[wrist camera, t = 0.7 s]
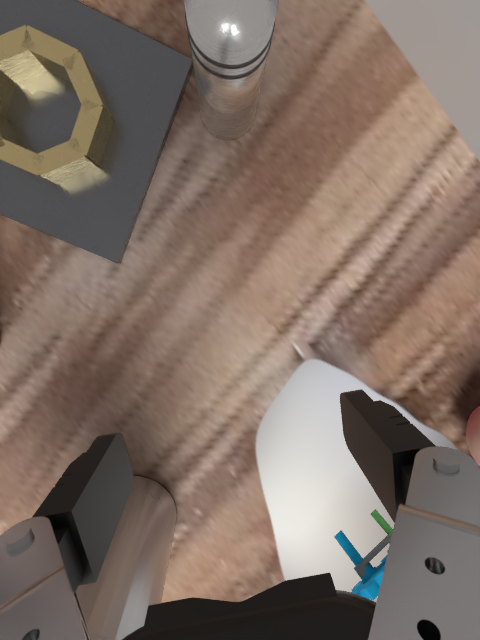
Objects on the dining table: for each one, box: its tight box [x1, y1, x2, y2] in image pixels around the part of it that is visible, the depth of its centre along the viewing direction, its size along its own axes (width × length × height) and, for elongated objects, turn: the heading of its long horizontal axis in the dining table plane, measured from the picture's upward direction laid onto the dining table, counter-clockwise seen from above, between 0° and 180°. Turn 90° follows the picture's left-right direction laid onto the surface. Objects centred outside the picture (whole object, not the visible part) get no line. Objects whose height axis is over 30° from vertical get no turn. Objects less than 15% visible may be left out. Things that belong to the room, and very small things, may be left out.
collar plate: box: [0, 0, 193, 263], centre depth 26 cm, size 18×18×3 cm
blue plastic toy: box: [335, 510, 393, 600], centre depth 33 cm, size 11×6×10 cm
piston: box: [184, 0, 278, 140], centre depth 22 cm, size 5×5×12 cm
